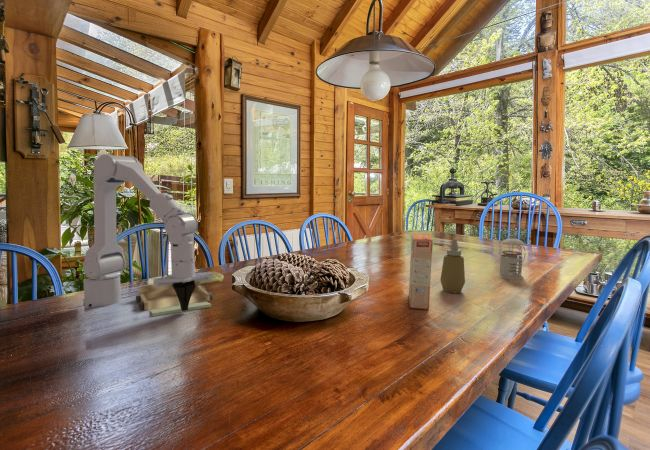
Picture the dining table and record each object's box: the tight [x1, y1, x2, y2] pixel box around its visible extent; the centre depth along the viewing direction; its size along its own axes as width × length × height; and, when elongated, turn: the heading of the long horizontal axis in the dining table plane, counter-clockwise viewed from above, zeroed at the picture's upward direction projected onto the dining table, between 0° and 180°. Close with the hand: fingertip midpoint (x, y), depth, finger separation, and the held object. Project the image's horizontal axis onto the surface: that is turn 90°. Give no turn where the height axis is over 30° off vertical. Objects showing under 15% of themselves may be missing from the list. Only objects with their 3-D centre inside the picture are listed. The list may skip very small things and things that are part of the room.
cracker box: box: [408, 232, 434, 310], centre depth 118 cm, size 14×6×21 cm, turn 168°
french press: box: [496, 213, 526, 280], centre depth 153 cm, size 10×12×25 cm
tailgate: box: [149, 301, 212, 317], centre depth 107 cm, size 15×1×6 cm
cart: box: [135, 281, 213, 312], centre depth 114 cm, size 20×12×6 cm, turn 122°
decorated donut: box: [200, 271, 225, 285], centre depth 137 cm, size 10×11×4 cm
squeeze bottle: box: [439, 238, 466, 294], centre depth 131 cm, size 8×8×18 cm
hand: (184, 309), depth 103 cm, fingers closed
